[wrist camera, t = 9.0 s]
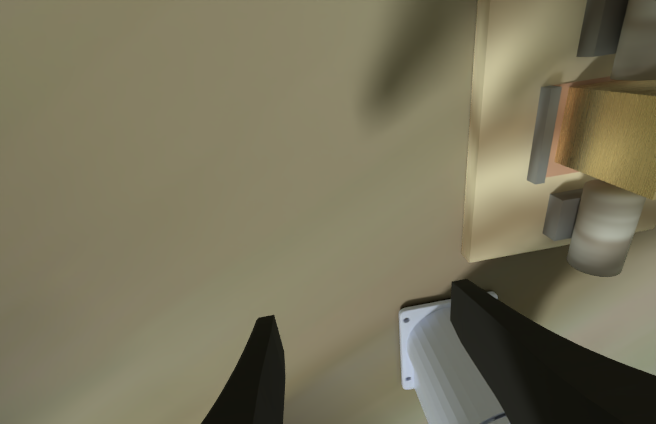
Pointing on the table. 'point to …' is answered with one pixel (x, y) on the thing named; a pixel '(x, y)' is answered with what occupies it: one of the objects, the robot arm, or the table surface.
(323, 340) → the table surface
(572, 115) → the coupler
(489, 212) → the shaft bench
